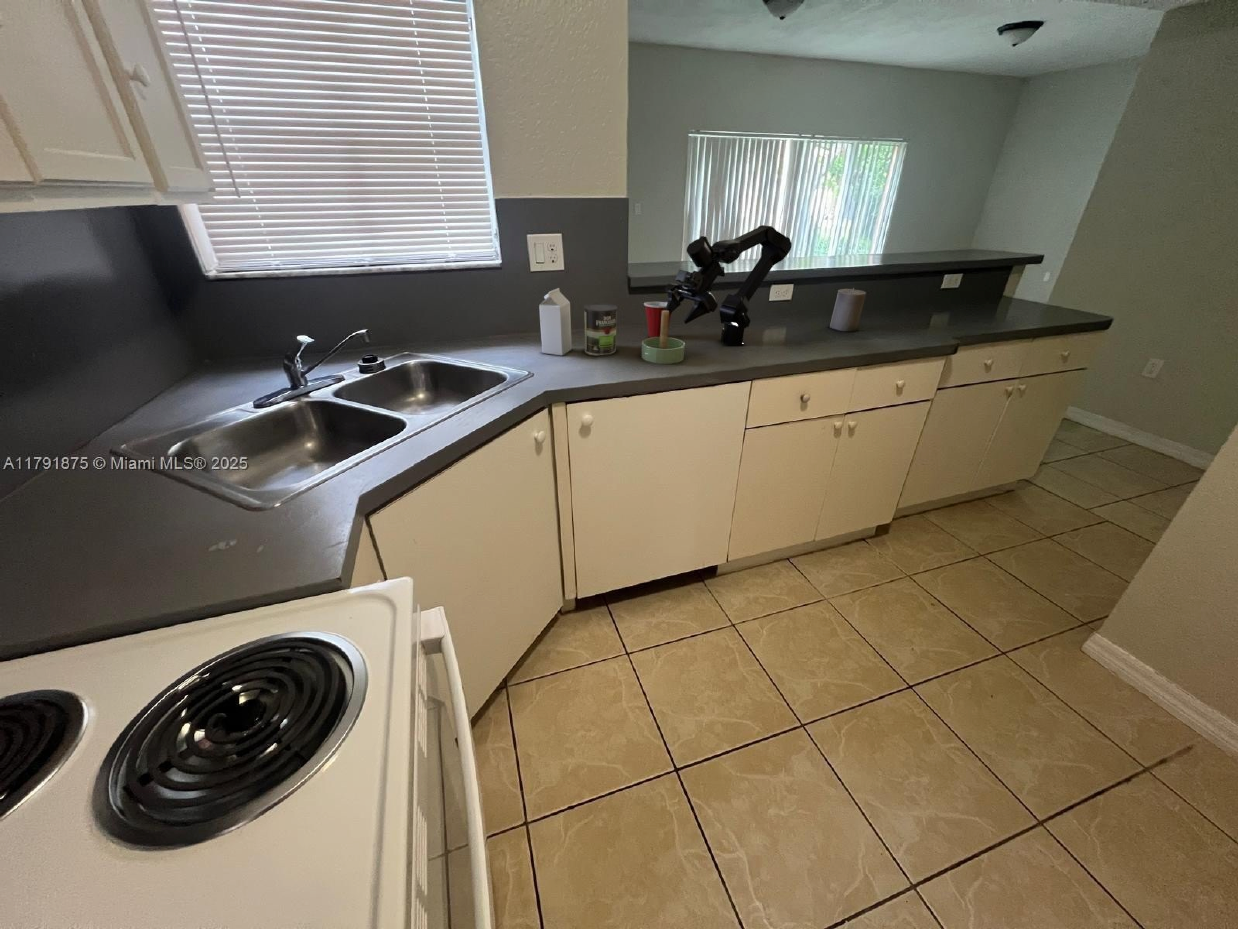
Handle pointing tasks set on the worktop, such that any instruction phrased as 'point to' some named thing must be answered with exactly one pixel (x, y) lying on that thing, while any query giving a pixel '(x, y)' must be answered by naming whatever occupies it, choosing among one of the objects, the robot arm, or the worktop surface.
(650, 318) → the plastic cup
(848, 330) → the pillar candle
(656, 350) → the bowl
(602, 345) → the coffee can
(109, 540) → the worktop surface
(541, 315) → the milk carton
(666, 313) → the stick
